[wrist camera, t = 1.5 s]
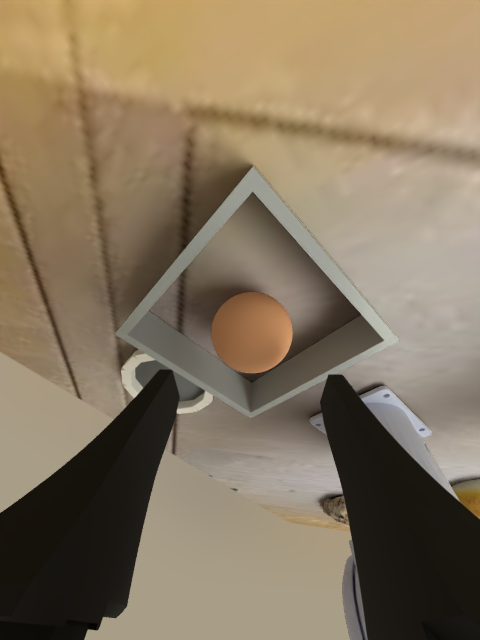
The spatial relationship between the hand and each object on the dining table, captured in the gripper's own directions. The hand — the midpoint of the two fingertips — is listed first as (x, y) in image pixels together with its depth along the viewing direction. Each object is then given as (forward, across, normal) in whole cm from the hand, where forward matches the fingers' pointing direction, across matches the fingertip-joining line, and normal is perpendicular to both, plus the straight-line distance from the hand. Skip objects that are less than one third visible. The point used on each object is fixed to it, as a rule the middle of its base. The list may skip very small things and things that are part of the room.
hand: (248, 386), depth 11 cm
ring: (+7, +7, +7) cm, 12 cm away
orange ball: (+4, 0, 0) cm, 4 cm away
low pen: (+7, 0, 0) cm, 7 cm away
